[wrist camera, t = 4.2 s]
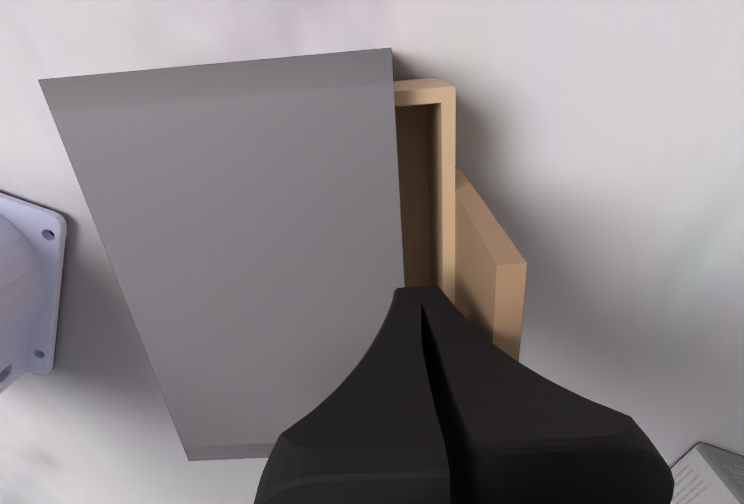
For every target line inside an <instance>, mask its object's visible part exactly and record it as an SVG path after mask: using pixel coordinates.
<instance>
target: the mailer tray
mask: <svg viewBox="0 0 744 504" xmlns="http://www.w3.org/2000/svg"><path fill="white" fill-rule="evenodd" d="M393 86H394V104H395V122H396V140H397V159H398V177H399V195H400V213H401V231H402V249H403V267H404V286H405V287H418V286H434V285H438V286H439V287H440V288H441V289H442V290H443V292H444V293H445V294H446V296H447V297H448V298H449V299H450V301H451V302H452V303H453V304H454V305H455V306H456V308H457V309H458V310H459V311H460V312H461V313H462V314H463V315H464V316H465V317H466V318H467V319H468V320H469V321H470V322H471V324H472V325H473V326H475V327H476V328H477V329H478V330H479V331H480V332H481V333H482V334H483V335H484V336H485V337H486V338H488V339H489V340H490V341H491V342H492V343H493V344H495V345H496V346H497V347H498V348H500V349H501V350H502V351H504V352H505V353H507V354H508V355H509V356H511V357H512V358H513V359H515V360H516V361H519V350H520V339H521V327H522V316H523V305H524V294H525V283H526V271H527V262H526V261H525V259H524V258H523V256H522V255H521V253H520V252H519V251H518V249H517V248H516V246H515V245H514V244H513V242H512V241H511V239H510V238H509V236H508V235H507V234H506V232H505V231H504V229H503V228H502V227H501V225H500V224H499V222H498V221H497V220H496V218H495V217H494V215H493V214H492V212H491V211H490V210H489V208H488V207H487V205H486V204H485V203H484V201H483V200H482V198H481V197H480V195H479V194H478V193H477V191H476V190H475V188H474V187H473V186H472V184H471V183H470V181H469V180H468V178H467V177H466V176H465V174H464V173H463V171H462V170H461V169H460V168H458V169H455V128H456V86H454V85H452V84H450V83H447V82H445V81H443V80H441V79H438V78H424V79H413V80H401V81H393Z"/></svg>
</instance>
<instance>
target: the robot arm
mask: <svg viewBox="0 0 744 504" xmlns="http://www.w3.org/2000/svg"><path fill="white" fill-rule="evenodd" d="M66 228H67V224H66V221H65V219H64V217H62V216H61V215H60V214H59V213H57V212H54V211H52V210H49V209H46V208H43V207H40V206H37V205H34V204H31V203H29V202H26V201H23V200H20V199H17V198H14V197H11V196H8V195H6V194H3V193H0V394H1V393H2V392H3V391H4V390H5V389H6V388H8V387H9V386H10V385H11V384H12V383H13V382H14V381H15V380H16V379H17V378H19V377H20V376H21V375H22V374H23V373H24V372H25V371H26V372H30V373H33V374H37V375H46V374H47V373H48V372H49V371H50V370H51V369H52V368H53V361H54V351H55V340H56V330H57V320H58V310H59V300H60V290H61V279H62V269H63V259H64V249H65V239H66ZM49 230H50V231H52V232H53V233H54V236H55V237H54V236H52V235H51V234H50V233H49ZM674 485H675V482H674V478H673V475H672V472H671V469H670V468H669V466H668V465H667V463H666V462H665V461H664V459H663V458H662V456H661V455H660V453H659V452H658V450H657V449H656V448H655V446H654V445H653V444H652V442H651V441H650V439H649V438H648V437H647V436H646V434H645V433H644V432H643V431H642V430H641V428H640V427H639V426H638V425H637V424H636V422H635V421H634V420H633V419H632V418H631V417H630V416H628V415H625V414H623V413H620V412H618V411H615V410H613V409H610V408H608V407H606V406H603V405H601V404H598V403H596V402H593V401H591V400H588V399H586V398H584V397H581V396H579V395H577V394H575V393H573V392H571V391H569V390H567V389H565V388H563V387H561V386H559V385H557V384H555V383H553V382H551V381H549V380H548V379H546V378H544V377H542V376H541V375H539V374H537V373H536V372H534V371H532V370H531V369H529V368H527V367H526V366H524V365H522V364H521V363H519V362H518V361H516V360H515V359H513V358H512V357H511V356H509V355H508V354H507V353H505V352H504V351H502V350H501V349H500V348H498V347H497V346H496V345H495V344H493V343H492V342H491V341H490V340H489V339H488V338H486V337H485V336H484V335H483V334H482V333H481V332H480V331H479V330H478V329H477V328H476V327H475V326H473V325H472V324H471V322H470V321H469V320H468V319H467V318H466V317H465V316H464V315H463V314H462V313H461V312H460V311H459V310H458V309H457V308H456V306H455V305H454V304H453V303H452V302H451V301H450V299H449V298H448V297H447V296H446V294H445V293H444V292H443V290H442V289H441V288H440V287H439V286H438V285H434V286H418V287H402V288H397V289H396V290H395V291H394V295H393V299H392V303H391V306H390V308H389V311H388V313H387V315H386V318H385V320H384V322H383V324H382V326H381V328H380V330H379V332H378V334H377V335H376V337H375V339H374V340H373V342H372V344H371V346H370V347H369V349H368V350H367V352H366V353H365V355H364V356H363V358H362V359H361V360H360V362H359V363H358V364H357V366H356V367H355V368H354V369H353V370H352V372H351V373H350V374H349V375H348V376H347V377H346V379H345V380H344V381H343V382H342V383H341V384H340V385H339V386H338V387H337V388H336V389H335V391H333V392H332V393H331V394H330V395H329V396H328V397H327V398H326V399H325V400H324V401H323V402H322V403H321V404H319V405H318V406H317V407H316V408H315V409H314V410H313V411H311V412H310V413H309V414H307V415H306V416H305V417H303V418H302V419H301V420H299V421H298V422H296V423H295V424H294V425H292V426H291V427H290V428H288V429H287V430H285V431H284V432H282V433H281V434H280V435H279V437H278V439H277V441H276V443H275V445H274V447H273V449H272V451H271V454H270V456H269V458H268V461H267V463H266V466H265V468H264V470H263V473H262V476H261V479H260V482H259V486H258V489H257V493H256V497H255V501H254V504H670V503H671V500H672V498H673V492H674Z"/></svg>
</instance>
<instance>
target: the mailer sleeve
mask: <svg viewBox="0 0 744 504" xmlns="http://www.w3.org/2000/svg"><path fill="white" fill-rule="evenodd" d="M38 81H39V84H40V86H41V89H42V91H43V94H44V96H45V99H46V101H47V104H48V106H49V109H50V111H51V114H52V116H53V119H54V121H55V124H56V126H57V129H58V132H59V134H60V137H61V139H62V142H63V144H64V147H65V149H66V152H67V154H68V157H69V159H70V162H71V164H72V167H73V169H74V172H75V175H76V177H77V180H78V182H79V185H80V187H81V190H82V192H83V195H84V197H85V200H86V202H87V205H88V207H89V210H90V212H91V215H92V217H93V220H94V223H95V225H96V228H97V230H98V233H99V235H100V238H101V240H102V243H103V245H104V248H105V250H106V253H107V255H108V258H109V260H110V263H111V266H112V268H113V271H114V273H115V276H116V278H117V281H118V283H119V286H120V288H121V291H122V293H123V296H124V298H125V301H126V303H127V306H128V308H129V311H130V314H131V316H132V319H133V321H134V324H135V326H136V329H137V331H138V334H139V336H140V339H141V341H142V344H143V346H144V349H145V351H146V354H147V357H148V359H149V362H150V364H151V367H152V369H153V372H154V374H155V377H156V379H157V382H158V384H159V387H160V389H161V392H162V394H163V397H164V399H165V402H166V405H167V407H168V410H169V412H170V415H171V417H172V420H173V422H174V425H175V427H176V430H177V432H178V435H179V437H180V440H181V442H182V445H183V448H184V450H185V453H186V455H187V458H188V460H189V461H200V460H221V459H243V458H265V457H269V456H270V454H271V451H272V449H273V447H274V445H275V443H276V441H277V439H278V437H279V435H280V434H281V433H282V432H284V431H285V430H287V429H288V428H290V427H291V426H292V425H294V424H295V423H296V422H298V421H299V420H301V419H302V418H303V417H305V416H306V415H307V414H309V413H310V412H311V411H313V410H314V409H315V408H316V407H317V406H318V405H319V404H321V403H322V402H323V401H324V400H325V399H326V398H327V397H328V396H329V395H330V394H331V393H332V392H333V391H335V389H336V388H337V387H338V386H339V385H340V384H341V383H342V382H343V381H344V380H345V379H346V377H347V376H348V375H349V374H350V373H351V372H352V370H353V369H354V368H355V367H356V366H357V364H358V363H359V362H360V360H361V359H362V358H363V356H364V355H365V353H366V352H367V350H368V349H369V347H370V346H371V344H372V342H373V340H374V339H375V337H376V335H377V334H378V332H379V330H380V328H381V326H382V324H383V322H384V320H385V318H386V315H387V313H388V311H389V308H390V306H391V303H392V299H393V295H394V291H395V290H396V289H397V288H402V287H405V286H404V267H403V249H402V231H401V213H400V195H399V177H398V159H397V140H396V122H395V104H394V86H393V68H392V50H391V48H382V49H371V50H360V51H349V52H338V53H327V54H316V55H305V56H294V57H283V58H272V59H261V60H250V61H239V62H228V63H216V64H205V65H194V66H183V67H172V68H161V69H150V70H139V71H128V72H117V73H106V74H95V75H84V76H73V77H62V78H51V79H40V80H38Z"/></svg>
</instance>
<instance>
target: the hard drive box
mask: <svg viewBox="0 0 744 504" xmlns="http://www.w3.org/2000/svg"><path fill="white" fill-rule="evenodd" d="M671 472H672V475H673V478H674V482H675V485H674V492H673V498H672V500H671V503H670V504H744V457H742V456H739V455H736V454H733V453H730V452H727V451H724V450H721V449H718V448H715V447H712V446H709V445H706V444H703V443H699V444H697V445H695V446H694V447H693V448H692V449H691V450H690V451H689V452H688V453H687V454H686V455H685V456H684V457H683V458H682V459H681V460H680V461H678V462H677V463H676V464H675V465H674V466H673V467H672V468H671Z"/></svg>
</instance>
